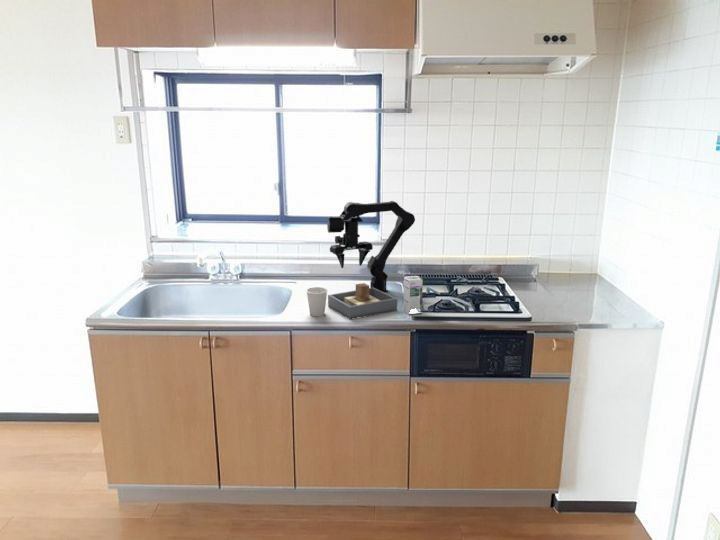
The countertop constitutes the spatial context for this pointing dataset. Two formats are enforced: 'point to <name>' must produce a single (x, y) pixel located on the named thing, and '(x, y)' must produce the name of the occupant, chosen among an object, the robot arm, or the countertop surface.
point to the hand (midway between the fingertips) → (351, 266)
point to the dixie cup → (317, 300)
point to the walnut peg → (362, 292)
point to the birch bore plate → (353, 301)
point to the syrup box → (412, 293)
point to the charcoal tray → (383, 306)
